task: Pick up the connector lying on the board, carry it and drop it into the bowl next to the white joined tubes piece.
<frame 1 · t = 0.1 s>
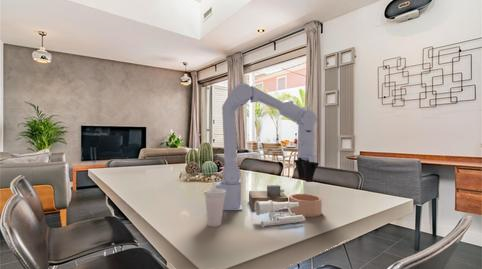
hand: (305, 180, 89), 10 cm above the table, tool pointing down, fingers open, 7 cm apart
white joined tubes piece: (280, 223, 73), on the table
connector: (273, 195, 90), point 4 cm above the table, touching board
board: (267, 204, 92), on the table
bowl: (305, 211, 84), on the table
smoothie: (214, 225, 70), on the table
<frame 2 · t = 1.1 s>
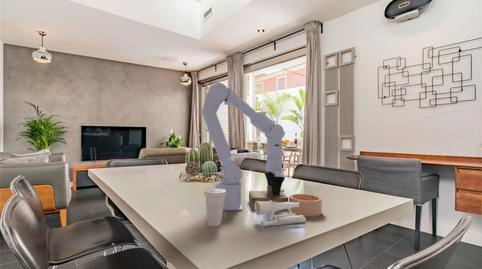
hand: (273, 193, 90), 5 cm above the table, tool pointing down, fingers open, 7 cm apart
nothing on the table moved.
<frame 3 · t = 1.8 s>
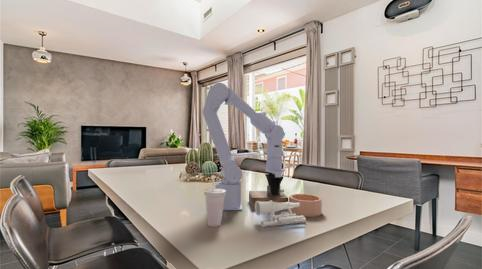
hand: (273, 194, 90), 4 cm above the table, tool pointing down, fingers closed on connector, 3 cm apart
connector: (273, 195, 90), point 4 cm above the table, touching board, gripper
everything else where it was.
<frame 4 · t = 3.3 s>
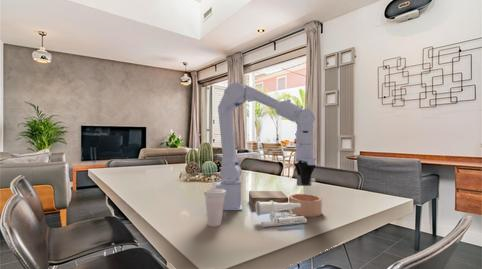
hand: (303, 184, 84), 10 cm above the table, tool pointing down, fingers closed on connector, 3 cm apart
connector: (304, 185, 84), point 9 cm above the table, touching gripper
everything else where it was.
when the fingers open (6 cm above the table, at t = 3.9 s): connector drops 5 cm, resting on bowl.
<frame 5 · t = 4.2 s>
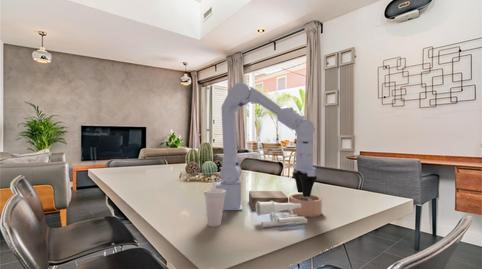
hand: (303, 194, 84), 6 cm above the table, tool pointing down, fingers open, 5 cm apart
connector: (303, 208, 83), point 1 cm above the table, tilted 22°, touching bowl
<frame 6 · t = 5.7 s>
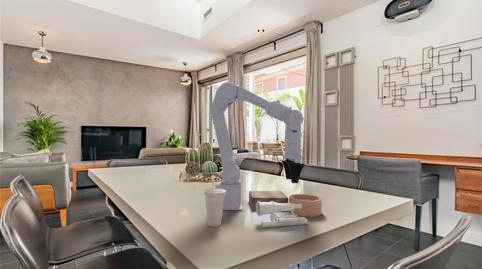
hand: (291, 181, 88), 10 cm above the table, tool pointing down, fingers open, 7 cm apart
connector: (303, 210, 84), point 1 cm above the table, touching bowl
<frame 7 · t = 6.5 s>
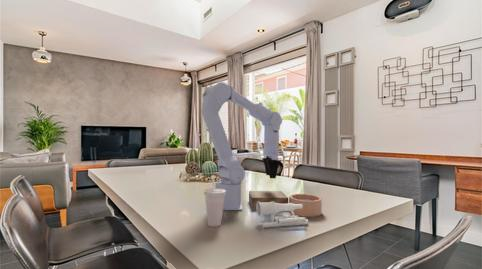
hand: (270, 176, 97), 10 cm above the table, tool pointing down, fingers open, 7 cm apart
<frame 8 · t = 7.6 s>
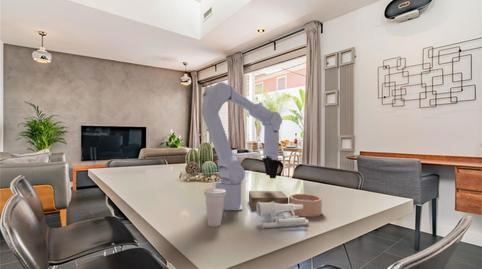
hand: (270, 176, 97), 10 cm above the table, tool pointing down, fingers open, 7 cm apart
at the end: connector inside the target area on the bowl (0.6 cm from its centre), point 0.6 cm above the bowl's base; the gripper is holding nothing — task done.
